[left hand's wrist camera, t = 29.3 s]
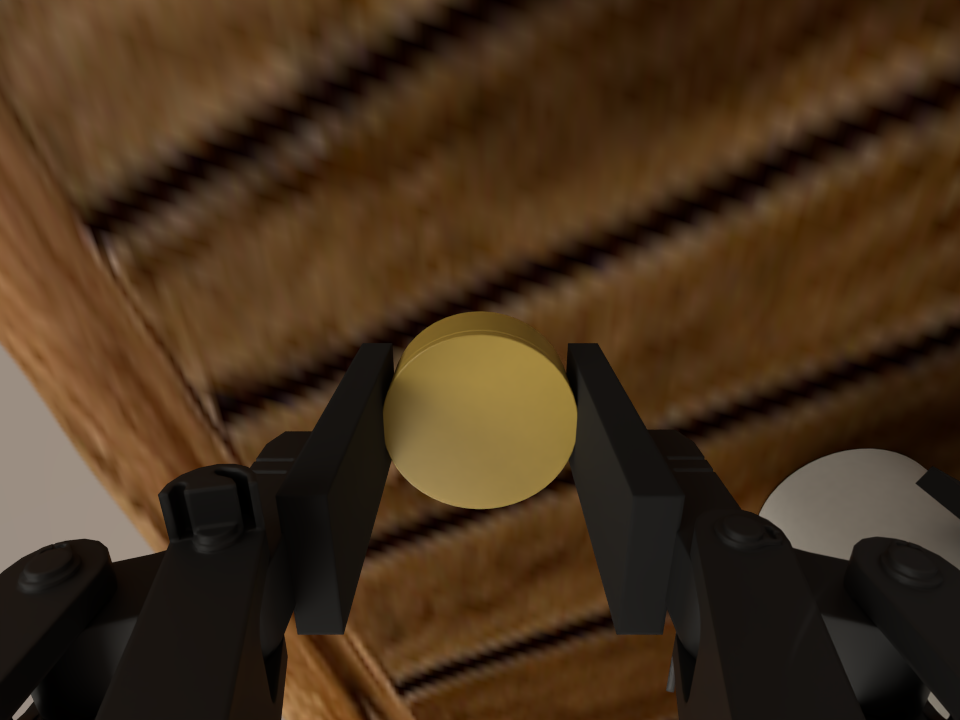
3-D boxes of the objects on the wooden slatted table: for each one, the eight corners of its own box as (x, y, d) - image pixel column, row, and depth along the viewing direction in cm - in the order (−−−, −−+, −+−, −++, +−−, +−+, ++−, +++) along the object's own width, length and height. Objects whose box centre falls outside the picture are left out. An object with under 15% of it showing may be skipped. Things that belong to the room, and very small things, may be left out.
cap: (548, 479, 16) (556, 520, 14) (385, 457, 15) (373, 497, 14) (584, 324, 14) (598, 350, 12) (401, 298, 14) (390, 320, 12)
